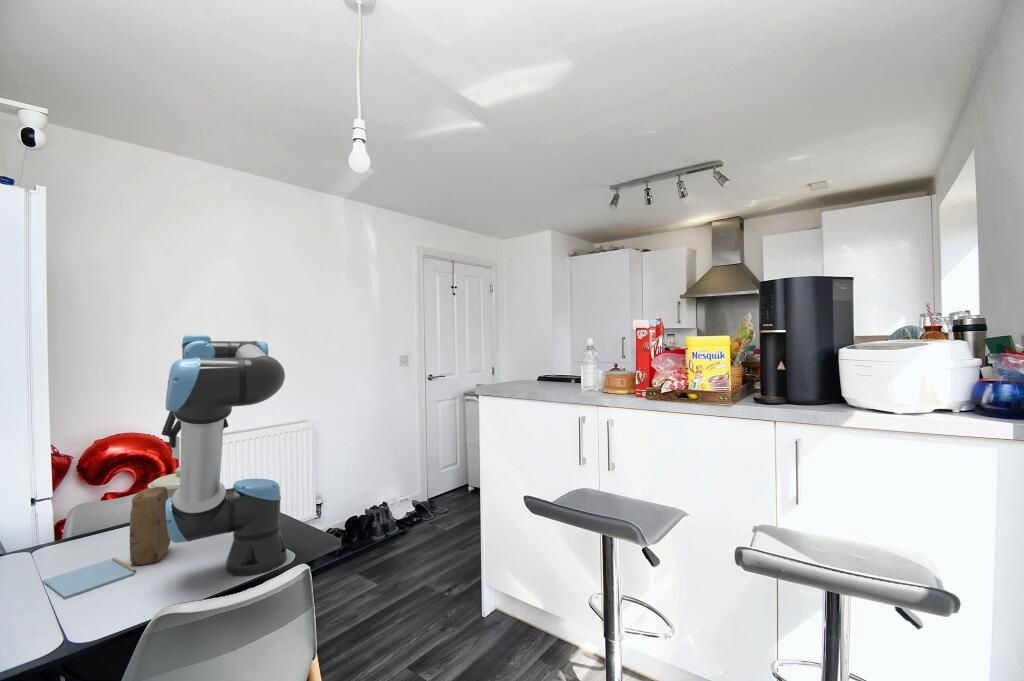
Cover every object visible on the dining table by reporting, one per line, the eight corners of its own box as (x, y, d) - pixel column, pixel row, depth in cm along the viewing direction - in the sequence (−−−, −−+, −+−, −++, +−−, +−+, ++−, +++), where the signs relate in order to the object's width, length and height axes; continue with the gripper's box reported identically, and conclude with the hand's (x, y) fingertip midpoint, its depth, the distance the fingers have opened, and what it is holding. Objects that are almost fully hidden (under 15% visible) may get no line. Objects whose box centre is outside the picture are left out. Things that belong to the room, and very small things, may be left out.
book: (137, 573, 126) (137, 570, 126) (64, 599, 113) (64, 595, 113) (113, 560, 134) (113, 556, 134) (43, 582, 122) (43, 578, 122)
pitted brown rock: (157, 565, 131) (157, 494, 131) (126, 568, 129) (126, 496, 130) (174, 548, 142) (174, 483, 142) (146, 551, 140) (146, 485, 140)
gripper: (228, 381, 158) (228, 446, 158) (147, 386, 138) (147, 460, 138) (240, 382, 154) (240, 448, 154) (159, 387, 135) (158, 463, 134)
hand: (196, 454), depth 146 cm, fingers open, 11 cm apart
